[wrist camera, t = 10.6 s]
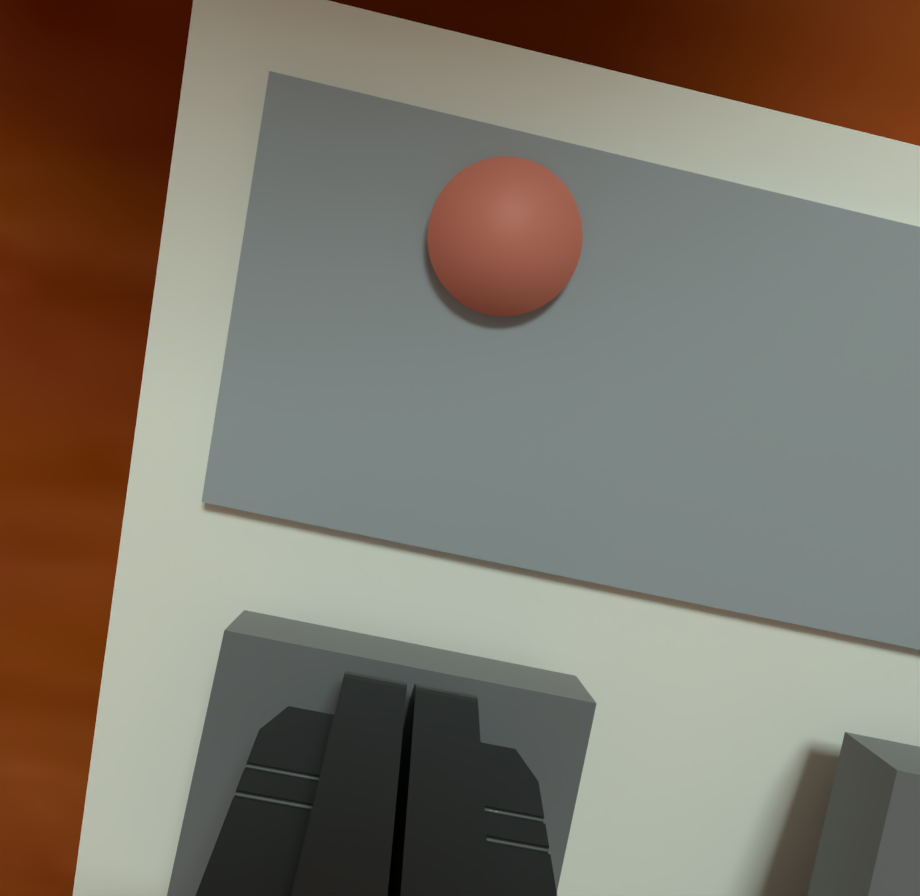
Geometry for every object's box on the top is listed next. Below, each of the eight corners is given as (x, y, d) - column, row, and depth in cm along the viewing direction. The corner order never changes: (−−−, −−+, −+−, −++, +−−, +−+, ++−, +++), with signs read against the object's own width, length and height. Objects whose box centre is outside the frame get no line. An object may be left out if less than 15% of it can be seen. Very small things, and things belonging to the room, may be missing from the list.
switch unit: (257, 31, 12) (155, -77, 8) (1705, 383, 14) (2264, 448, 10) (96, 1086, 17) (-23, 1371, 13) (1192, 1261, 19) (1415, 1569, 14)
